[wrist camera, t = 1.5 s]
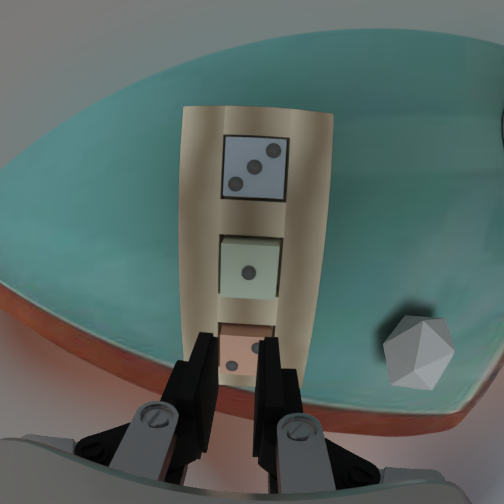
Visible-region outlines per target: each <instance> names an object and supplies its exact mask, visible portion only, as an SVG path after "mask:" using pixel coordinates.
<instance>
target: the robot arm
mask: <svg viewBox="0 0 504 504" xmlns="http://www.w3.org/2000/svg"><path fill="white" fill-rule="evenodd" d="M503 139H504V115H503ZM218 388H219V377H218V337H213V333H207V332H199V334H198V337H197V339H196V342H195V345H194V347H193V350H192V353H191V355H190V358H189V361H182V360H178V361H177V362H176V364H175V366H174V369H173V371H172V373H171V376H170V378H169V380H168V383H167V385H166V388H165V390H164V392H163V395H162V397H161V400H160V401H152V402H148V403H145V404H143V405H142V406H140V407H139V408H138V410H137V411H136V413H135V415H134V417H133V419H132V421H131V422H130V423H127V424H124V425H122V426H119V427H116V428H113V429H110V430H107V431H104V432H101V433H97V434H94V435H91V436H88V437H85V438H83V439H81V440H80V441H79V442H75V441H74V439H67V438H56V437H48V436H40V435H33V434H31V435H25V436H23V437H22V438H3V439H0V504H472V502H471V501H470V499H469V498H468V496H467V495H466V493H465V492H464V491H463V490H462V489H461V488H460V487H459V486H458V485H456V484H455V483H452V482H450V481H445V479H444V477H443V475H442V474H441V473H440V472H438V471H436V470H431V469H406V468H392V467H385V468H384V469H378V468H377V467H376V466H375V465H374V464H372V463H371V462H369V461H367V460H365V459H363V458H361V457H359V456H357V455H355V454H353V453H352V452H350V451H348V450H346V449H344V448H342V447H341V446H339V445H337V444H335V443H333V442H331V441H330V440H328V439H326V438H325V437H324V434H323V429H322V426H321V424H320V422H319V421H318V420H317V419H316V418H314V417H313V416H311V415H308V414H305V413H303V407H302V401H301V394H300V388H299V382H298V376H297V370H296V369H290V368H281V361H280V350H279V340H278V337H265V338H264V340H259V349H258V361H257V374H256V386H255V405H254V434H253V457H258V464H260V466H261V467H262V468H263V469H264V470H266V471H267V472H268V494H258V493H238V492H225V491H216V490H207V489H200V488H193V487H187V486H183V485H184V481H185V477H186V473H187V469H188V464H189V463H191V462H193V461H195V460H196V459H200V457H201V453H202V452H203V453H206V452H207V449H208V443H209V438H210V433H211V427H212V422H213V416H214V411H215V406H216V401H217V396H218Z"/></svg>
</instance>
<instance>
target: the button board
mask: <svg viewBox="0 0 504 504" xmlns="http://www.w3.org/2000/svg"><path fill="white" fill-rule="evenodd" d="M333 115H334V114H330V113H323V112H315V111H306V110H297V109H286V108H272V107H254V106H185V107H183V120H182V134H181V151H180V173H179V220H178V238H179V285H180V308H181V325H182V340H183V353H184V361H189V358H190V355H191V353H192V350H193V347H194V345H195V342H196V339H197V337H198V334H199V332H207V333H213V337H218V377H219V384H221V385H233V386H247V387H255V386H256V376H248V375H233V374H221V373H220V332H221V328H222V324H223V322H225V323H239V324H255V325H271V337H278V340H279V350H280V361H281V368H290V369H296V370H297V376H298V382H299V388H302V383H303V378H304V373H305V368H306V363H307V357H308V352H309V347H310V341H311V335H312V329H313V323H314V317H315V311H316V305H317V298H318V291H319V284H320V277H321V269H322V261H323V253H324V244H325V235H326V225H327V215H328V204H329V192H330V178H331V162H332V143H333ZM226 137H250V138H268V139H283V140H287V141H286V159H285V176H284V192H283V199H276V198H260V197H242V196H223V183H224V162H225V144H226ZM226 235H230V236H248V237H265V238H277V239H278V242H279V246H280V248H279V260H278V272H277V284H276V295H275V300H264V299H247V298H231V297H220V280H221V243H222V241H223V240H224V238H225V236H226Z"/></svg>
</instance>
